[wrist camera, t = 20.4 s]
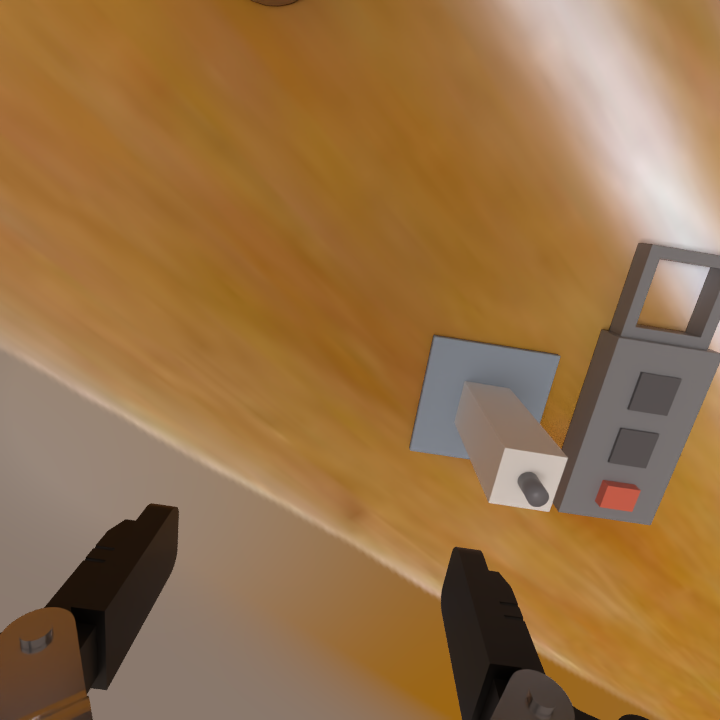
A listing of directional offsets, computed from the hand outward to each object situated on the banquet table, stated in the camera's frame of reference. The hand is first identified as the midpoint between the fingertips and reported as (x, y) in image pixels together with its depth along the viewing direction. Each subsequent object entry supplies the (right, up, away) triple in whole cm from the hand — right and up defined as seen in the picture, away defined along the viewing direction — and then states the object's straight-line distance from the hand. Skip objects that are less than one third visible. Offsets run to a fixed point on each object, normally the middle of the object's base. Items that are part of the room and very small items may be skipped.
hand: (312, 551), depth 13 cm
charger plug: (+13, +1, +30) cm, 33 cm away
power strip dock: (+28, +3, +30) cm, 41 cm away
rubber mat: (+13, +1, +31) cm, 34 cm away
